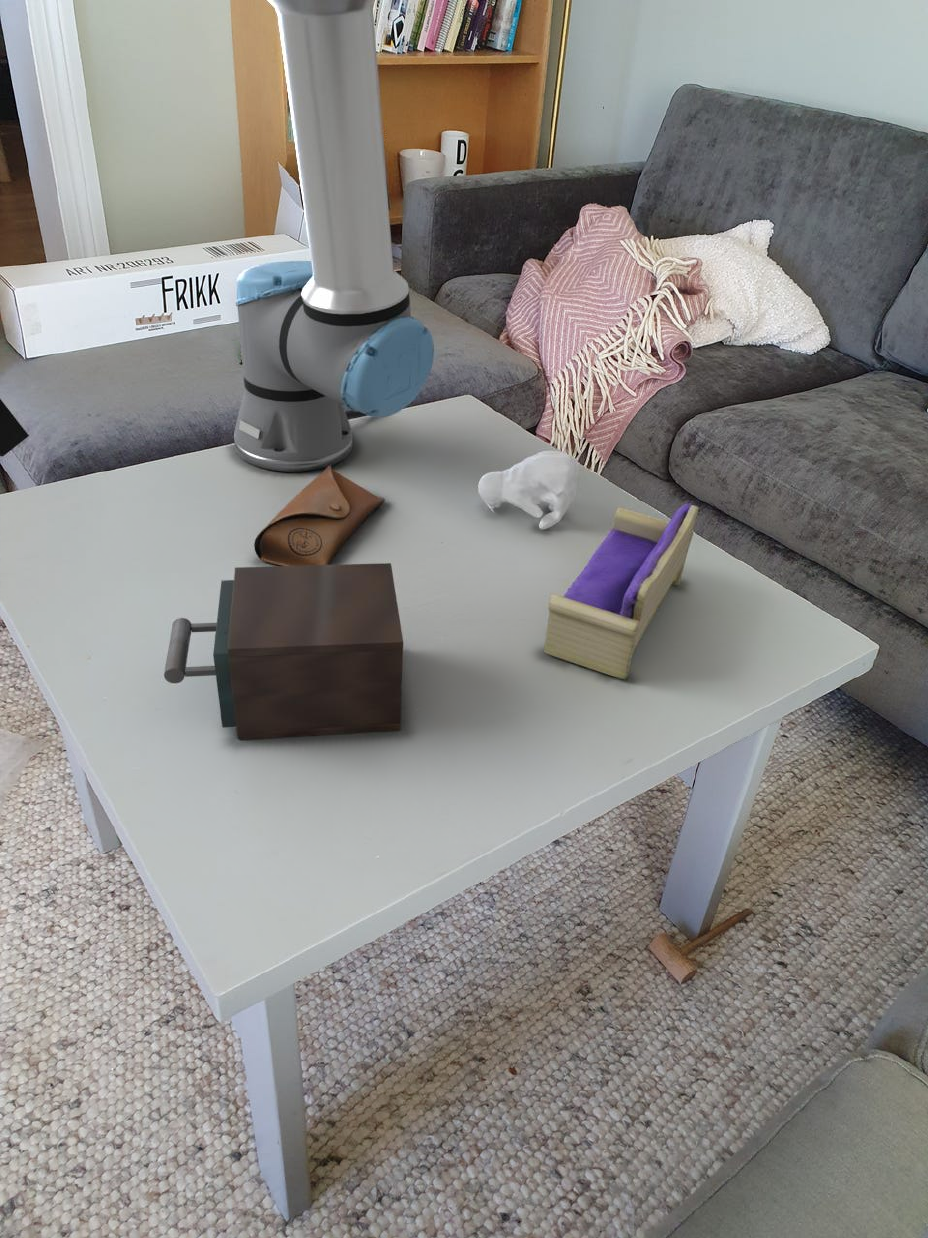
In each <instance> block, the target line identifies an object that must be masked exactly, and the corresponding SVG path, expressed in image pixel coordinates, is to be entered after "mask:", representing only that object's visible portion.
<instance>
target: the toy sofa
mask: <svg viewBox="0 0 928 1238" xmlns="http://www.w3.org/2000/svg"><path fill="white" fill-rule="evenodd" d="M698 512H699V506H697V505H693V504H690V503H685V504H683V505H682V506H680V507H679V508H678V509H677V510H676V512H675V513H674V514H673V516H672V517H671V519H670V520H669V521H667V520H664V519H660V518H656V517H653V516H650V515H646V514H643V513H640V512H637V511H634V510H630V509H627V508H623V507H618V508H617V509H616V511H615V515H614V517H613V524H612V528H611V530H610V531H609V533H608V534H607V536H606V537H605V538H604V540H602V542H601V543H600V545H599V546H598V548H597V549H595V552H594V553H593V554H592V556H591V557H590V559H589V560H588V562H587V564H586V566H585V567H584V568H583V570H582V571H580V573H579V575H578V576H577V577H576V579H575V581H574V582H572V584H571V585H570V586H569V588H567V591H566V592H565V593H564V595H563V596H561V595H558V594H552V595H551V596H550V598H549V601H548V605H547V607H548V611H549V612H548V613H549V614H548V621H547V627H546V634H545V642H544V653H545V654H546V655H549V656H552V657H555V658H558V659H559V660H560V659H561V660H564V661H567V662H569V663H573V664H576V665H579V666H582V667H585V668H587V669H590V670H593V671H596V672H600V673H602V674H606V675H607V676H612V677H615V678H618V679H620V680H625V679H627V678H628V676H629V673H630V669H631V663H632V658H633V654H634V651H635V649H636V647H637V646H638V644H639V642H640V640H641V638H642V637H643V635H644V633H645V631H646V629H647V628H648V625H649V624H650V622H651V620H652V618H653V617H654V616H655V614H656V612H657V610H658V609H659V606H660V605H661V603H662V601H663V599H664V598H665V596H666V595H667V593H668V591H669V589H670V588H671V586H679V585H680V582H681V579H682V575H683V571H684V568H685V563H686V560H687V556H688V552H689V549H690V546H691V542H692V540H693V536H694V526H695V523H696V520H697V517H698Z"/></svg>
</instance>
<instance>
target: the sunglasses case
mask: <svg viewBox="0 0 928 1238" xmlns="http://www.w3.org/2000/svg"><path fill="white" fill-rule="evenodd" d="M384 502H385V498H384V497H380V496H377V495H375V494H373V493H371V492H370V491H368V490H367V489H365V488H364V487H362V486H360V485H359V484H357V483H355V482H354V481H352V480H351V479H349V478H347V477H345V476H344V475H343V474H341V473H340V472H338V471H336V470H334V469H332V465H330V466H328V467H325V468H324V470H323V471H322V472H321V473H320V474H319V475H318V476H316V478H314V479H313V480H312V481H310V482H309V483H308V484H307V485H306V486H305V487H303V489H302V490H301V491H300V492H298V494H296V495H295V496H294V498H292V499H291V500H290V501H289V502H288V503H287V504H286V505H285V506H284V507H283V508H282V509H281V510H280V511H279V512H278V513H277V514H276V515H275V516H274V517H273V518H272V519H271V520H270V521H269V523H268V524H267V525H266V526H265V527H263V529H262V530H261V531H260V532H259V533H258V534H257V536H255V537H256V538H255V539H254V543H253V547H254V552H255V554H256V556H257V558H258V559H259V560H260V561H261V562H262V563H263V562H264V563H267V564H270V565H273V566H308V565H331V563H332V561H333V559H334V557H335V556H336V554H337V553H338V552H339V551H340V550H341V548H342V547H343V546H344V545H345V543H346V542H347V541H348V540H349V539H350V538H351V537H352V535H354V533H355V532H356V531H357V530H358V529H359V528H360V527H361V526H362V525H363V524H364V523H365V522H366V520H367V519H368V518H369V517H370V516H371V515H372V514H374V513H375V512H376V511H377V509H378V508H379V507H380V506H381V505H382V504H383V503H384Z"/></svg>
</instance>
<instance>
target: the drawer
mask: <svg viewBox="0 0 928 1238" xmlns="http://www.w3.org/2000/svg"><path fill="white" fill-rule="evenodd" d="M233 584H234V579H222V580H221V582H220V591H219V598H218V599H219V600H218V607H217V617H216V622H196V623H192V622H191V621H190V619H188V618H186V617H178V618H176V619H175V620H174V621H173V622H172V627H171V633H170V638H169V644H168V648H167V649H168V650H167V655H166V659H165V660H166V661H165V666H164V667H165V668H164V673H163V678H164V679H165V681H167V683H169V684H179V683H182V682H183V681H184V679H185V678H189V677H209V676H210V677H211V676H215V680H216V688H217V697H218V703H219V705H218V706H219V713H220V719H221V727H222V728H223V729H226V728H236V719H235V710H234V702H233V693H232V684H231V675H230V666H229V657H228V639H229V628H230V617H231V606H232V595H233ZM212 632H213V633H214V634H215V635H214V643H213V651H212V652H213V653H212V655H213V664H214V665H199V666H187V663H188V655H189V650H190V642H191V635H192V633H212Z"/></svg>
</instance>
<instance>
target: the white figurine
mask: <svg viewBox="0 0 928 1238" xmlns="http://www.w3.org/2000/svg"><path fill="white" fill-rule="evenodd" d="M579 479H580V463H579V462H578V460H577V459H576V457H575V456H574V455H572V454H569V453H567V452H564V451H559V450H544V451H540V452H537V453H536V454H534V455H531V456H528V457H526V458H524V459H523V460H522V461H520V462H518V463H515V464H514V465H513V466H511V468H506V469H505V470H503V471H500V470H499V471H490V472H486V473H485V474H483V475H482V477H481V478H480V479H479V481H478V485H477V486H478V487H477V490H478V495H479V496H480V498H482V499H483V501H484V502H485V504H486V505H487V507H488V508H489V509H490V510H491V512H493V513H495V511H494V509H495V508H496V509H497V508H500V507H501V505H502V503H509V504H511V505H513V506H515V507H517V508H520V509H521V510H523V511H524V512H525V513H527V514H529V515H530V516H531V517H534V518H537V519H540V518H541V520H540V522H539V524H538V528H539V529H540V530H543V531H544V530H548V529H549V528H551V527H553V526H555V525H556V524H557V523H559V522H560V521H561V520H562V518H563V516H564V515H565V513H566V512H567V510H568V509H569V508H570V506H571V504H572V502H573V501H574V499H575V497H576V493H577V486H578V482H579ZM543 502H544V503H547V504H548V509H549V510H550V511H551V512H549V513H546V514H545V515H544V511H543V509H541V508H540V506H539V505H540V504H542V503H543Z"/></svg>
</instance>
